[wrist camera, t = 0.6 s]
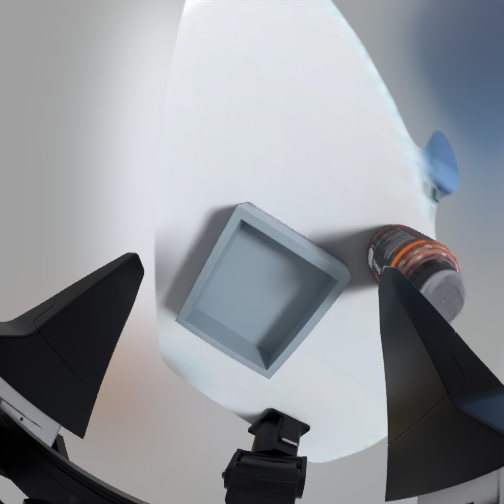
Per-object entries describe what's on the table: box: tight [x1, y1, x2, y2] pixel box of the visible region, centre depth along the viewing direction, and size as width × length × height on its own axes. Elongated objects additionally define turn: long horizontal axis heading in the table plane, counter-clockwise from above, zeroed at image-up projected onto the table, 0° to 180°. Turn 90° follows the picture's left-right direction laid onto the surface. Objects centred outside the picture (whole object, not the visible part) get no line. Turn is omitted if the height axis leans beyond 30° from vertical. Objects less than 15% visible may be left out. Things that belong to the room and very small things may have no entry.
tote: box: [176, 202, 352, 379], centre depth 26 cm, size 13×11×4 cm
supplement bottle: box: [367, 225, 467, 324], centre depth 19 cm, size 6×6×11 cm
